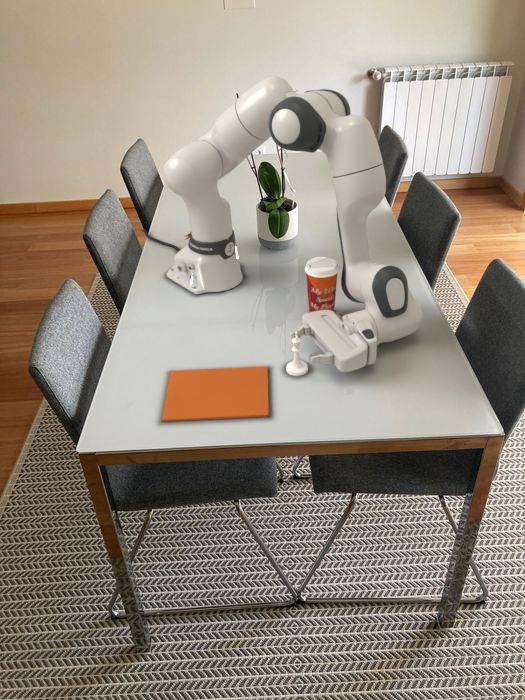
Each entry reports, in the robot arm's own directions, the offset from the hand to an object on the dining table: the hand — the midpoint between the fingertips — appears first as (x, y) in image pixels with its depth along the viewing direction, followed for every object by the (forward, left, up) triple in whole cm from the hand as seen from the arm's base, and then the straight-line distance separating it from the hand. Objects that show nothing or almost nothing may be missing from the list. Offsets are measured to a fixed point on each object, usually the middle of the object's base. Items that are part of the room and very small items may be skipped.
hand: (301, 348), depth 132 cm
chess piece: (0, -1, -6) cm, 6 cm away
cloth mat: (-10, -18, -5) cm, 21 cm away
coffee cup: (-7, +20, -6) cm, 22 cm away
